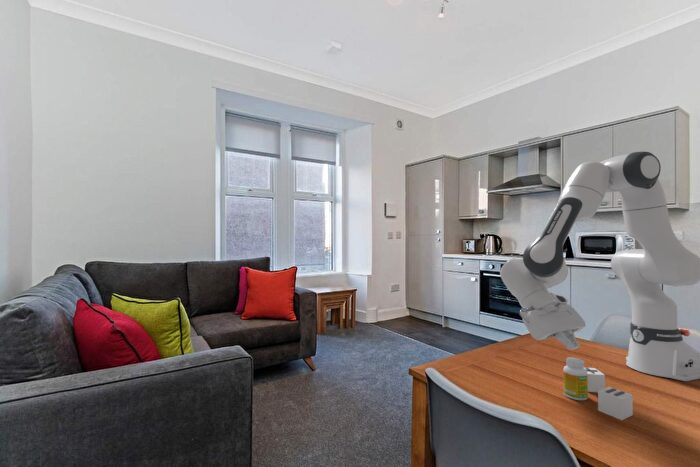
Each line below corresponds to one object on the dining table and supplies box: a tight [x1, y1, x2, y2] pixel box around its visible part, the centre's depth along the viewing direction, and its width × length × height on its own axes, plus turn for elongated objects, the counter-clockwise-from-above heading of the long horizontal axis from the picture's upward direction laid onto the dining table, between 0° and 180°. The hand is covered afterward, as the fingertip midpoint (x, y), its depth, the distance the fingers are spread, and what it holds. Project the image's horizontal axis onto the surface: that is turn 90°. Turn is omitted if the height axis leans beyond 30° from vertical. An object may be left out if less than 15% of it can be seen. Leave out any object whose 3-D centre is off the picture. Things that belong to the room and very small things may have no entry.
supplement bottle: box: [563, 356, 589, 401], centre depth 91 cm, size 5×5×10 cm
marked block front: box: [597, 386, 634, 421], centre depth 83 cm, size 5×5×5 cm
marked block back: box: [583, 366, 606, 393], centre depth 96 cm, size 5×5×5 cm
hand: (575, 348), depth 92 cm, fingers closed
